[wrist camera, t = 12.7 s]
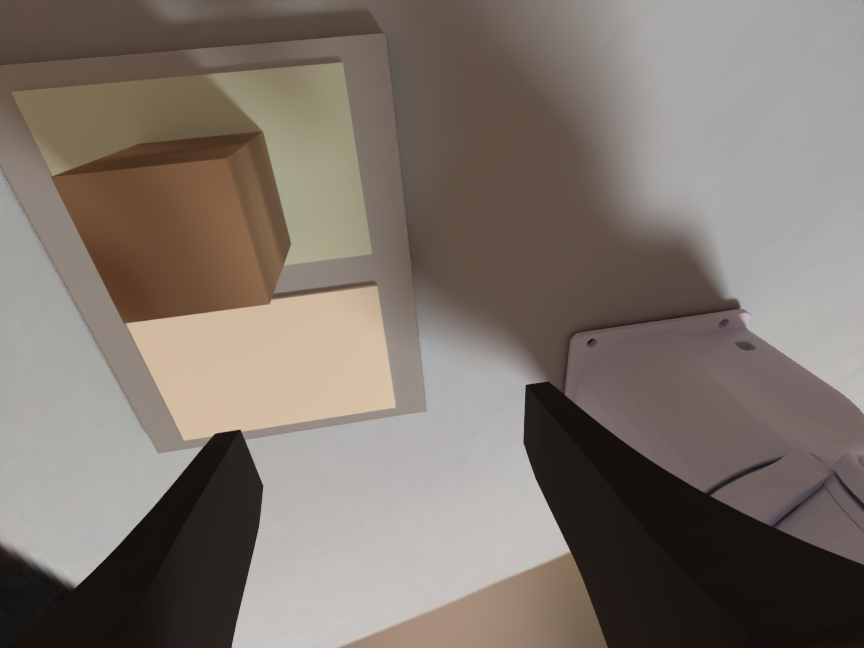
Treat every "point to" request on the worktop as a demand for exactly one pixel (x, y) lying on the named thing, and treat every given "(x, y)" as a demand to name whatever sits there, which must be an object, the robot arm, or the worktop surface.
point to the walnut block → (181, 224)
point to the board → (304, 214)
